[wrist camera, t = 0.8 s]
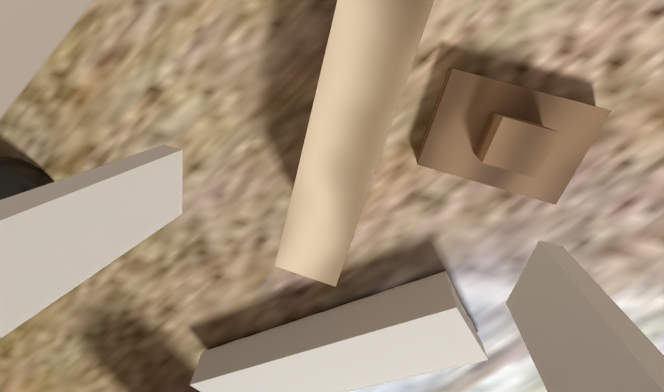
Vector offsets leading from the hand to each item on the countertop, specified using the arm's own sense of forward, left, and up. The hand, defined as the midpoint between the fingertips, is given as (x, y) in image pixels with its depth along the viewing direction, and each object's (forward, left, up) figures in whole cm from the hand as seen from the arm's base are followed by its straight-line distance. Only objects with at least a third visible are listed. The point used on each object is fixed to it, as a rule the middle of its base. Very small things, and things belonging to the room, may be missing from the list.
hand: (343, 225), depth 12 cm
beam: (-2, +2, -20) cm, 20 cm away
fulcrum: (+10, +2, -19) cm, 22 cm away
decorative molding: (+6, -31, -19) cm, 37 cm away
